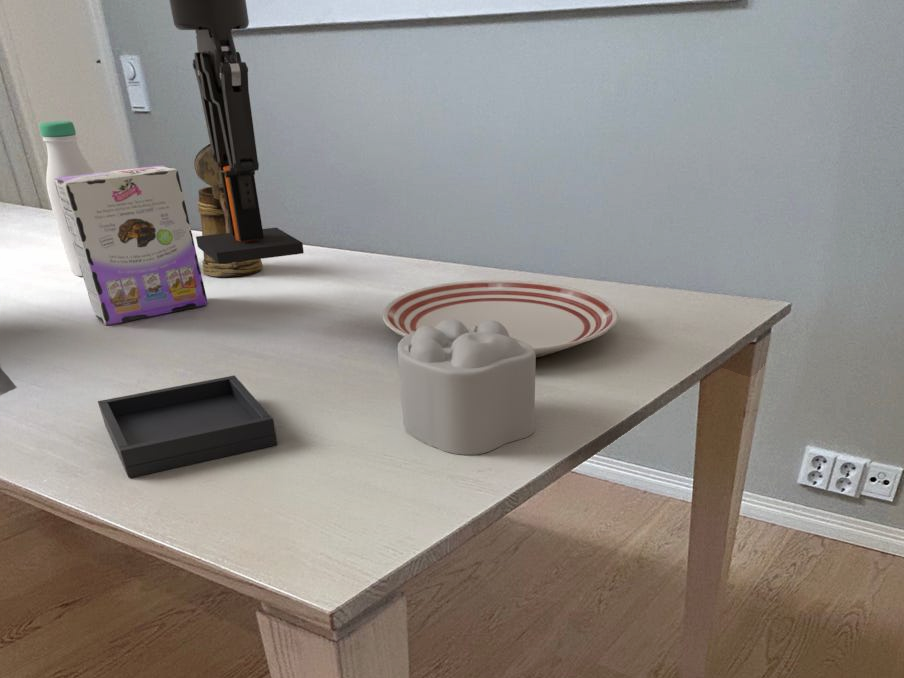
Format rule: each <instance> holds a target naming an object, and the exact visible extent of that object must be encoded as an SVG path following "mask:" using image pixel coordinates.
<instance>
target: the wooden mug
mask: <svg viewBox="0 0 904 678" xmlns="http://www.w3.org/2000/svg"><path fill="white" fill-rule="evenodd" d="M194 169H195V173H196V175H197V177H198V179H200V180H201V181H202V182H203V183H205V184H206V185H208V186H205V187H203V188H200V189H198V200H197V208H198V210H197V211H198V213H199V214H200V225H201V236H205V235H214V234H223V233H231V229H230V223H229V217H228V212H227V206H226V201H225V195H224V189H223V184H222V178H221V173H220V172H223V171H220V170H219V167H218V165H217V162H215V161H214V160H213V157H212V149H211V144H210V143H209V144H207V145H205V146H204V147H203V148H201V149H200V150H199V151H198V153H197V154H196V155H195V158H194ZM202 253H203V260H202V261H201V262H202V271H203V274H204V275H207V276H209V277H214V278H215V277H216V278H235V277H243V276H248V275H252V274H256V273H258V272H260V271H261V270H262V269H263V268H264V266H263V262H262V259H256V260H248V261H240V262H232V263H224V264H218V263H217V262H216V261H214V260H213V259H212V258H211V257H209V256H208V255H207V254H206V253H205V252H203V251H202Z"/></svg>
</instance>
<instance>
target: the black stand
mask: <svg viewBox="0 0 904 678" xmlns="http://www.w3.org/2000/svg"><path fill="white" fill-rule="evenodd" d="M223 169H224V171H230V167H229V166H225V167H223ZM225 180H226V186H227V192H228V197H229V203H230V209H231V214H232V220H233V226H234V231H235V236H233V235H232V234H231V233H223V234H214V235H205V236H202V235H197V236H195V239H196V244H197V248H198V249H200V250H201V251H202V253H203V252H205V253H206V254H207V255H208V256H209V257H211V258H212V259H213V260H214V261H216V262H217V263H218V264H224V263H232V262H240V261H248V260H256V259H261V260H262V259H263V260H264V259H273V258H278V257H287V256H294V255H295V256H296V255H303V254H305V253H304V246H303V242H302V241H301V240H299V239H297V238H296V237H295V236H292V235H290V234H289V233H287V232H285V231H283V230H281V229H280V228H279V227H268V228H262V229H263V235H264V239H255V240H247V241H240V240H239V235H238V229H237V223H236V218H235V212H234V206H233V200H232V195H231V189H230V183H229V177H227V178H226V177H225Z"/></svg>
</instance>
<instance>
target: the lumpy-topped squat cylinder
mask: <svg viewBox="0 0 904 678" xmlns="http://www.w3.org/2000/svg"><path fill="white" fill-rule="evenodd" d="M536 358H537V357H536V355H535V350H534V348H533V347H532V346H531V345H529V344H527V343H525V342H523V341H520V340H517V339H515V338H512V337H510V336H509V334H508V331H507V330H506V328H505V327H504V326H503V325H502V324H501V323H499V322H497V321H493V320H491V321H487V322H484V323H482V324H481V325H479V327H477V326H474V327H472V328H471V329H467V328H466V326H465V325H464V324H463V323H462V322H460V321H458V320H456V319H447V320H444V321H442V322H440V323H439V324H438V325H437V326H436V327H435V328H434V327H432V326H422V327H420V328H419V329H417V331H416V332H415V331H413V332H412V333H410V334H408V335H406V336H405V337H402V338H401V339H400V340H399V342H398V343H397V362H398V371H399V373H398V374H399V386H400V396H401V408H402V421H403V422H402V423H403V426H404V429H405V431H406V433H407V434H408V435H410V436H411V437H412V438H414V439H416V440H418V441H420V442H422V443H424V444H426V445H429V446H431V447H434V448H436V449H438V450H441V451H444V452H447V453H449V454H454V455H462V456H463V455H464V456H475V455H482V454H487V453H489V452H492V451H494V450H495V449H497V448H499V447H501V446H504V445H505V444H508V443H512V442H515V441H519V440H522V439H526V438H528V437H530V436H531V435H533V434H534V433H535V422H536V421H535V420H536V419H535V415H536V414H535V411H536V363H537V361H536V360H537V359H536Z"/></svg>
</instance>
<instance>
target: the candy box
mask: <svg viewBox="0 0 904 678" xmlns="http://www.w3.org/2000/svg"><path fill="white" fill-rule="evenodd" d="M54 181H55V185H56V188H57V191H58V195H59V198H60V201H61V205H62V208H63V211H64V215H65V218H66V222H67V225H68V228H69V231H70V235H71V238H72V241H73V245H74V248H75V251H76V255H77V258H78V262H79V265H80V268H81V271H82V275H83V276H82V277H83V278H82V279H83V281H84V285H85V288H86V291H87V296H88V299H89V301H90V305H91V308H92V312H93V315H94V316H95V317H96V318H97V319H98V320H99V321H101V322H102V324H103V325H105V326H112V325H116V324H117V325H118V324H122V323H125V322H129V321H136V320H141V319H146V318H149V317H150V318H151V317H155V316H160V315H164V314H165V315H166V314H169V313H174V312H179V311H183V310H188V309H194V308H198V307H201V306H206V305H208V304H209V303H208V297H207V293H206V289H205V285H204V280H203V276H202V272H201V267H200V263H199V259H198V254H197V250H196V246H195V241H194V235H193V233H192V228H191V227H192V226H191V224H190V219H189V214H188V210H187V205H186V201H185V198H184V192H183V189H182V183H181V179H180V173H179V170H178V168H173V167H170V166H166V165H163V164H161V165H154V166H153V165H152V166H143V167H135V168H127V169H118V170H110V171H101V172H94V173H92V174H85V175H77V176H69V177H61V178H54Z"/></svg>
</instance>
